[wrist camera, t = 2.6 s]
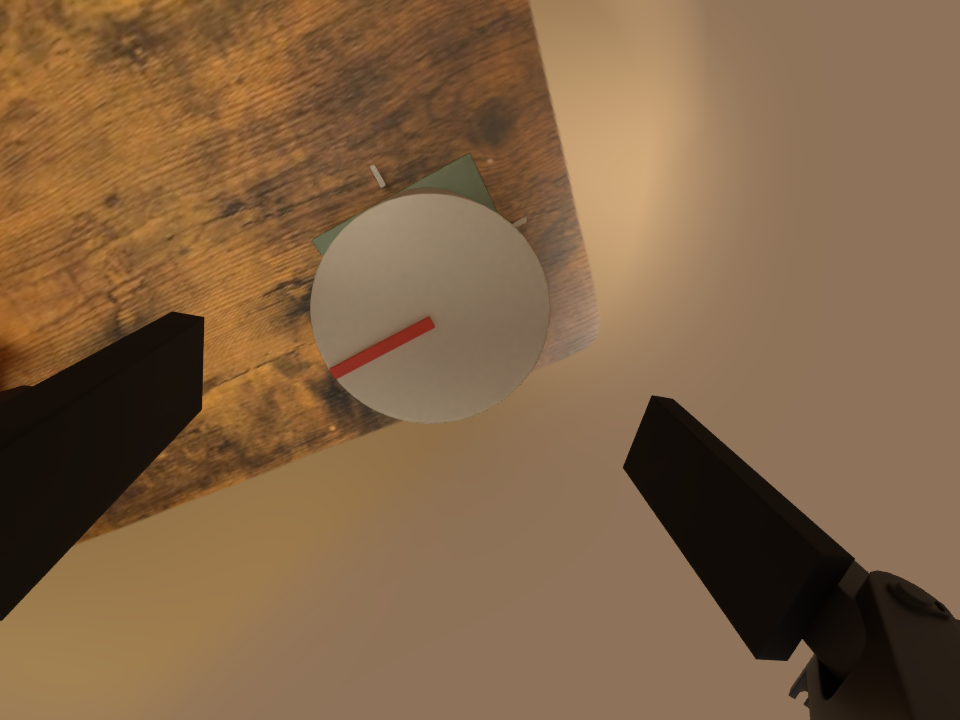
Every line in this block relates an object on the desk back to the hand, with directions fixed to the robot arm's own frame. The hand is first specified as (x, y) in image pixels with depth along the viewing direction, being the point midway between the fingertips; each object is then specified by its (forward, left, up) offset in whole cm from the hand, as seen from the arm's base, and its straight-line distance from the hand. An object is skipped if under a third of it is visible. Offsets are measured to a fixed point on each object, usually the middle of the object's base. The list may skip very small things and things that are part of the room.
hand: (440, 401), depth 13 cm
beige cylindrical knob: (0, 0, -20) cm, 20 cm away
